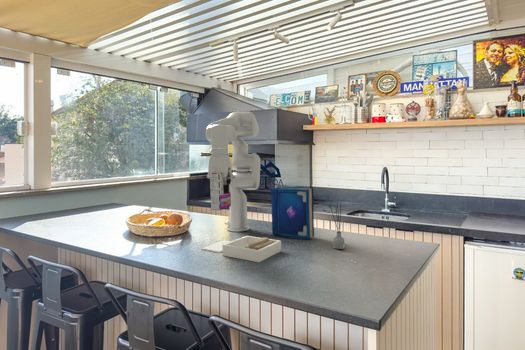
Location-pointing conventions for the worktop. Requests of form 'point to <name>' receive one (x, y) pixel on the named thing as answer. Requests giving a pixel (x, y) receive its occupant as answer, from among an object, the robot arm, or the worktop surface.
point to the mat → (216, 247)
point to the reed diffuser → (338, 234)
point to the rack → (243, 252)
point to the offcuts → (260, 243)
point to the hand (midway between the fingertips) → (220, 192)
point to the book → (292, 212)
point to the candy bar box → (218, 192)
